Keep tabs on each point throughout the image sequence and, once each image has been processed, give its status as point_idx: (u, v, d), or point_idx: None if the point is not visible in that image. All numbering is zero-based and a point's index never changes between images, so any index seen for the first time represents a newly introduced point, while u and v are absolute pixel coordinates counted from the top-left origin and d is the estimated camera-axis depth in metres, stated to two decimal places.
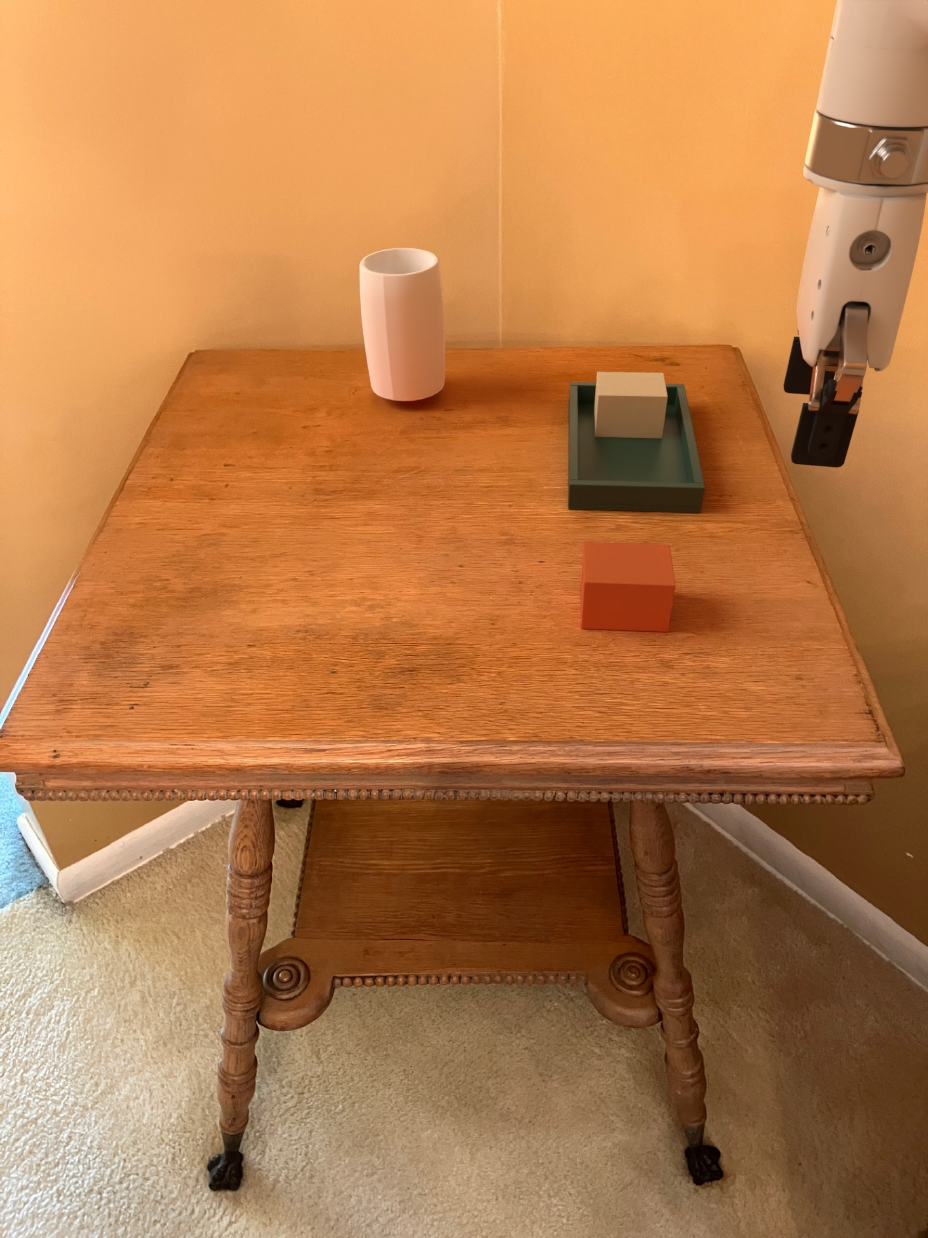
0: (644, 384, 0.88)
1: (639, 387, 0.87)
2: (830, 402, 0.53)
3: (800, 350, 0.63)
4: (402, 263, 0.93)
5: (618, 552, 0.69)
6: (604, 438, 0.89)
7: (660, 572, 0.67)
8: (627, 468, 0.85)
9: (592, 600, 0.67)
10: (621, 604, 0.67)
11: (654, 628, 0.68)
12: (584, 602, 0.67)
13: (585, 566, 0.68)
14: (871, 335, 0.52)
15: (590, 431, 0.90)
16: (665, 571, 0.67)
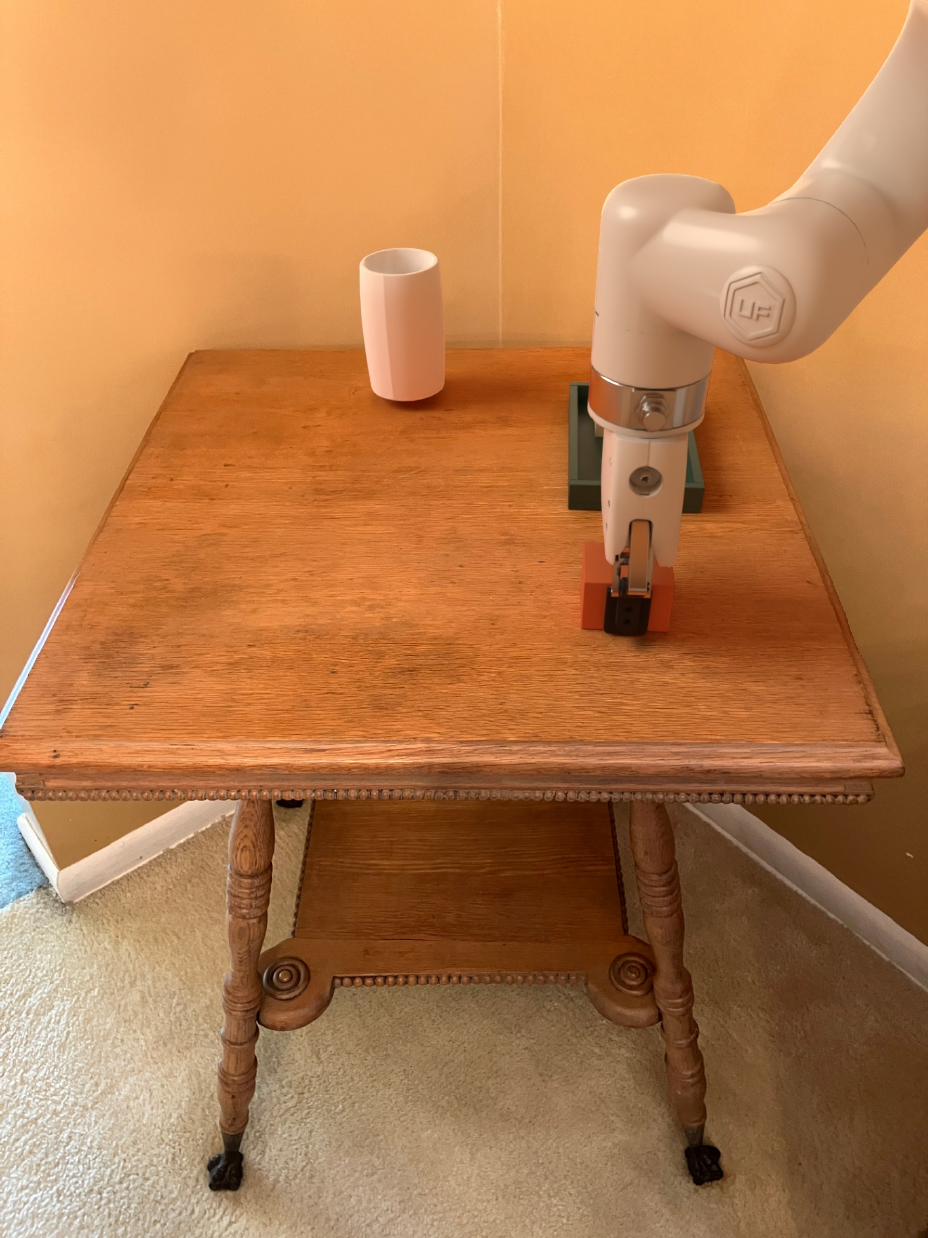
0: None
1: None
2: (625, 595, 0.63)
3: None
4: (402, 263, 0.93)
5: None
6: None
7: (660, 572, 0.67)
8: None
9: (592, 600, 0.67)
10: None
11: (654, 628, 0.68)
12: (584, 602, 0.67)
13: (585, 566, 0.68)
14: (656, 544, 0.60)
15: (590, 431, 0.90)
16: (665, 571, 0.67)
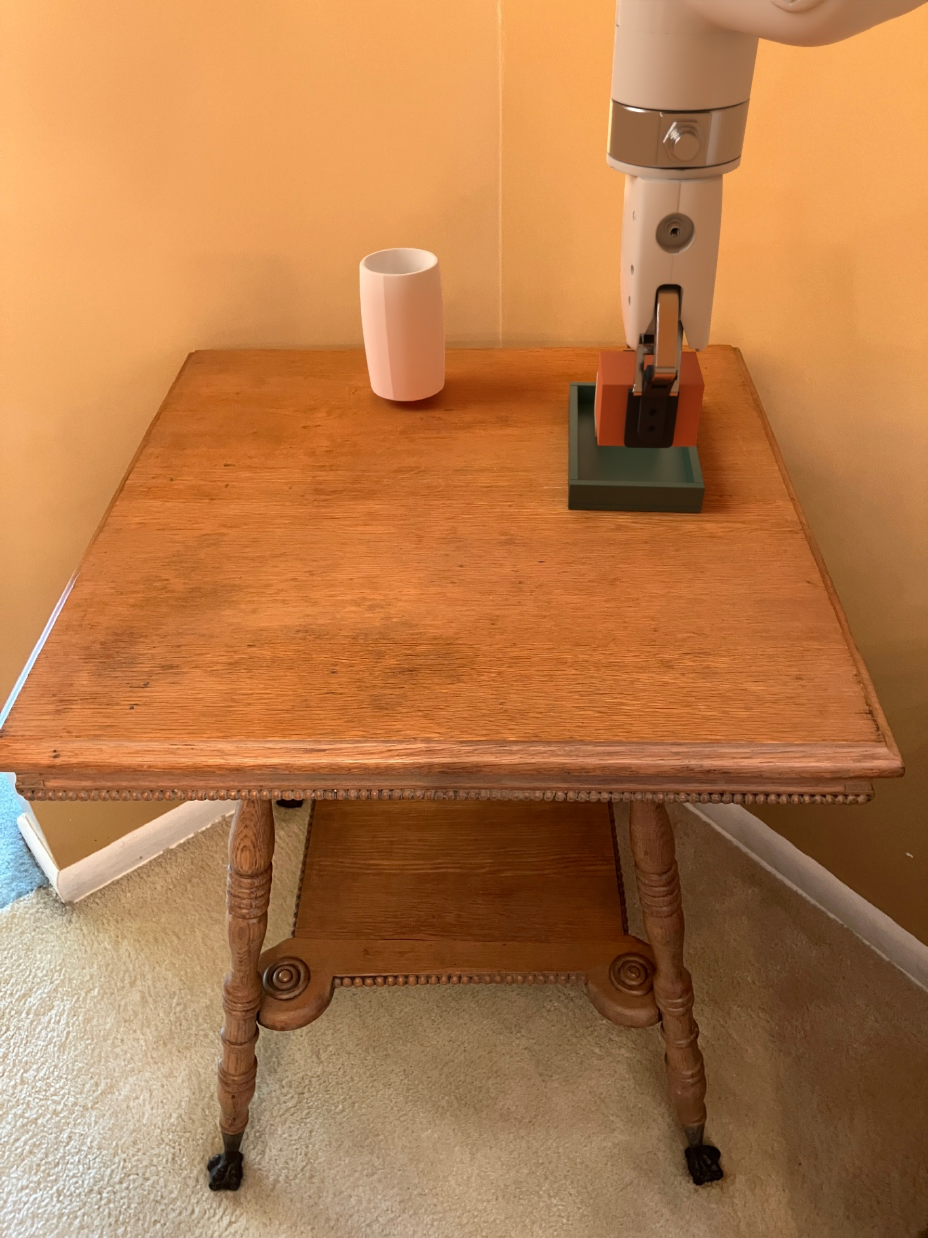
0: None
1: None
2: (650, 386, 0.56)
3: None
4: (402, 263, 0.93)
5: None
6: None
7: (687, 374, 0.59)
8: (627, 468, 0.85)
9: (611, 407, 0.60)
10: None
11: (680, 442, 0.61)
12: (602, 410, 0.60)
13: (602, 371, 0.60)
14: (687, 316, 0.53)
15: (590, 431, 0.90)
16: (692, 373, 0.59)
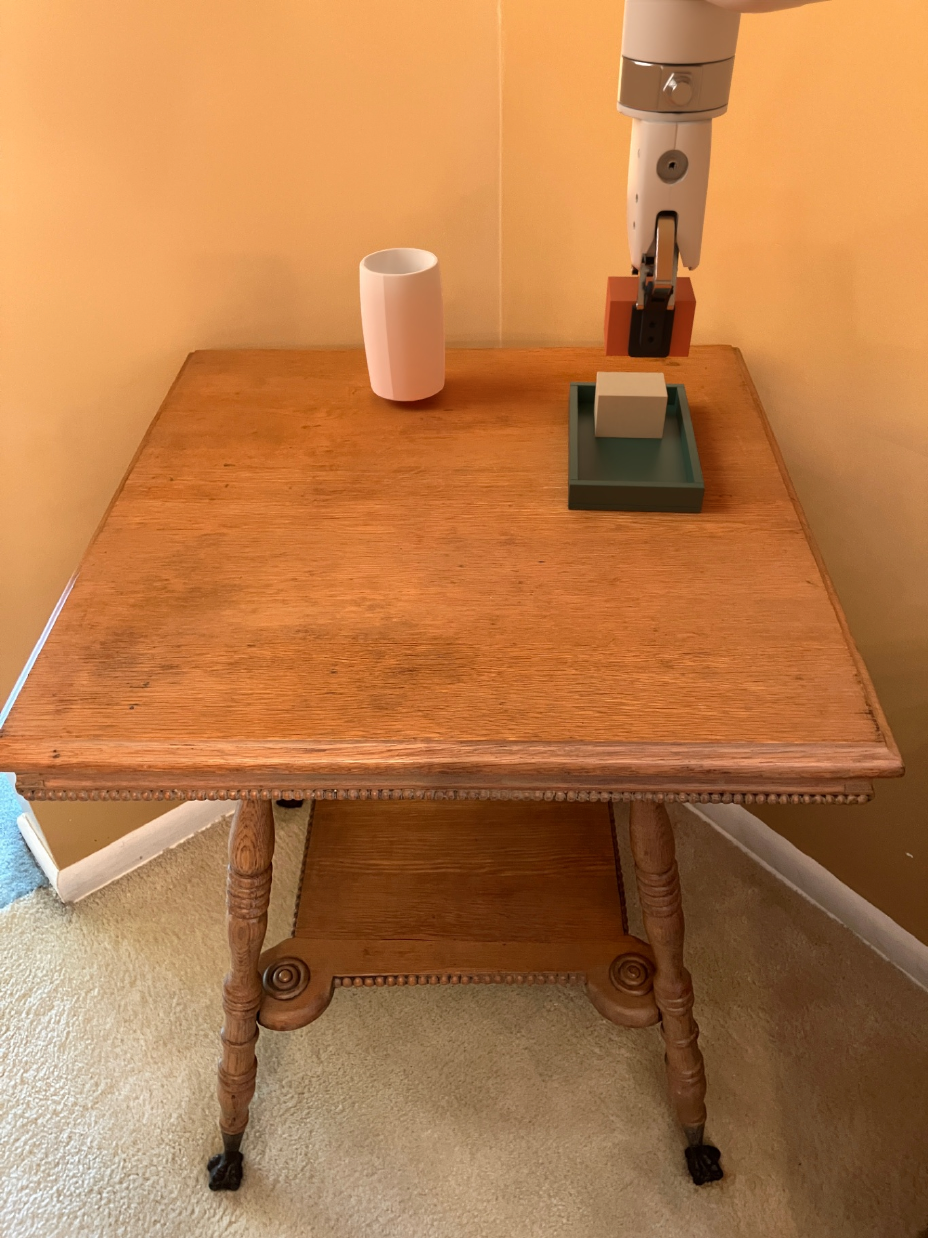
0: (644, 384, 0.88)
1: (639, 387, 0.87)
2: (650, 299, 0.67)
3: None
4: (402, 263, 0.93)
5: None
6: (604, 438, 0.89)
7: (682, 293, 0.70)
8: (627, 468, 0.85)
9: (617, 321, 0.71)
10: None
11: (675, 353, 0.72)
12: (609, 324, 0.71)
13: (610, 290, 0.71)
14: (681, 238, 0.64)
15: (590, 431, 0.90)
16: (686, 293, 0.70)
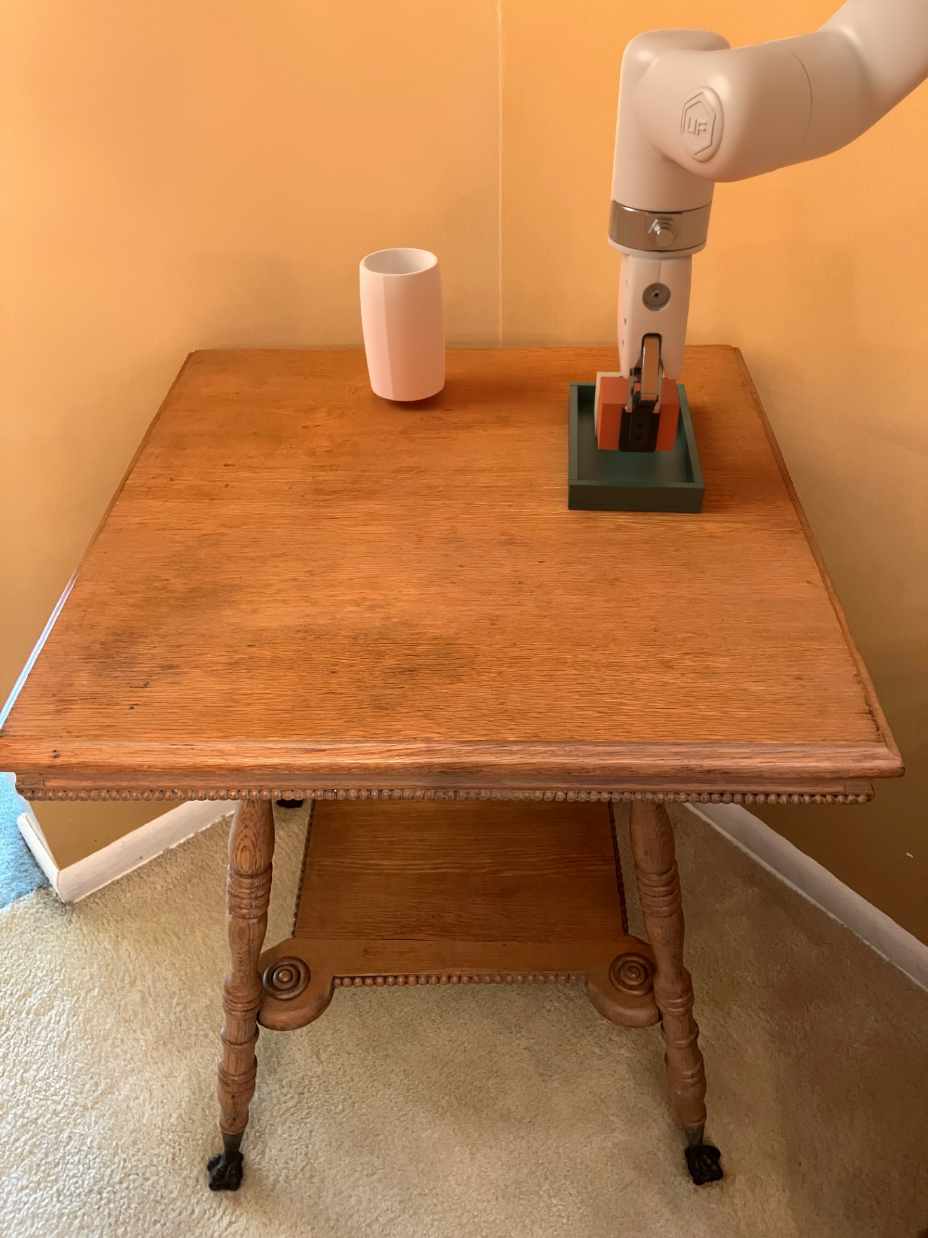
0: None
1: None
2: (638, 406, 0.74)
3: None
4: (402, 263, 0.93)
5: None
6: None
7: (667, 396, 0.78)
8: (627, 468, 0.85)
9: (608, 420, 0.78)
10: None
11: (661, 447, 0.80)
12: (601, 423, 0.79)
13: (602, 392, 0.79)
14: (665, 356, 0.71)
15: (590, 431, 0.90)
16: (671, 395, 0.78)
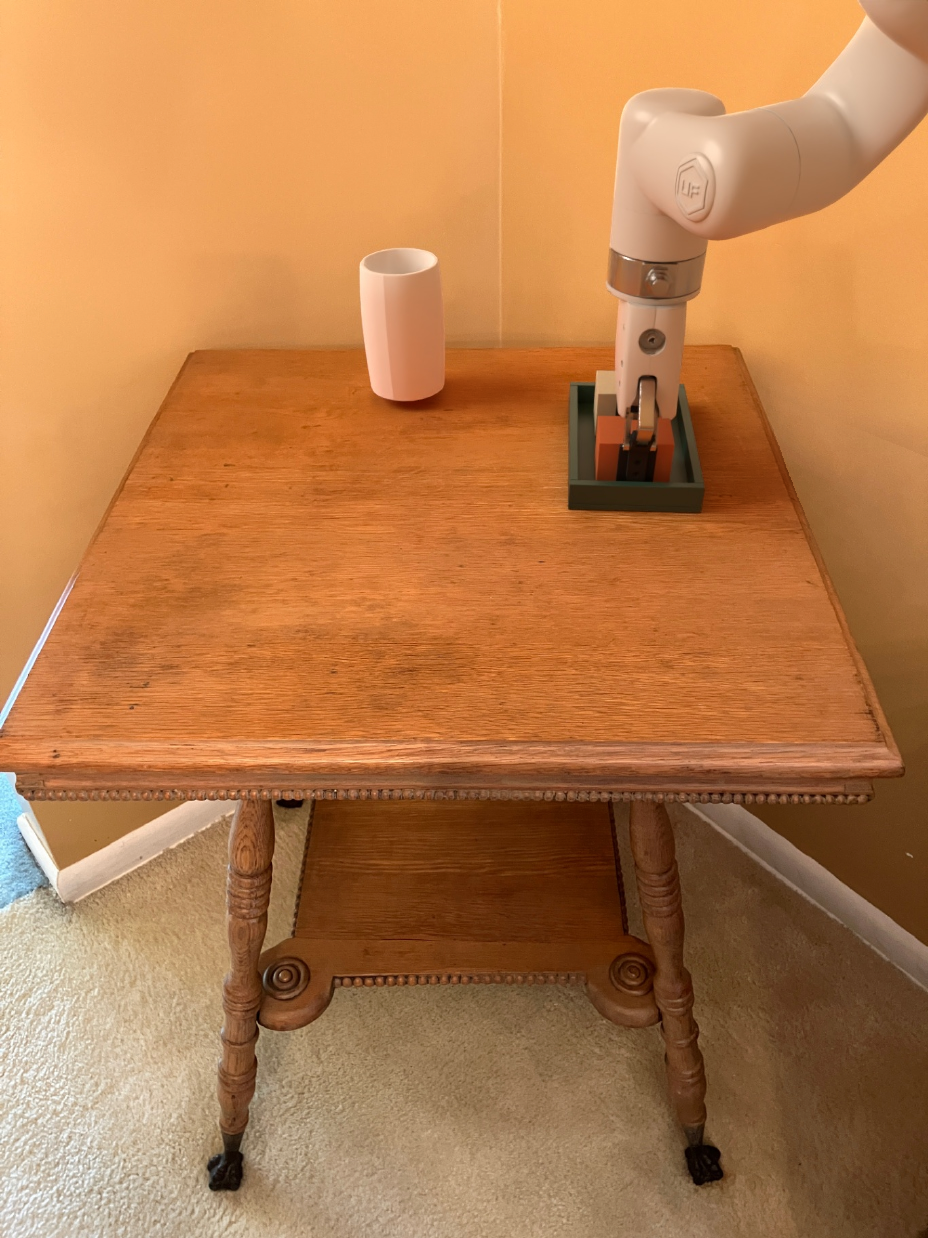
0: None
1: None
2: (635, 445, 0.76)
3: None
4: (402, 263, 0.93)
5: None
6: None
7: (662, 436, 0.80)
8: None
9: (605, 459, 0.81)
10: None
11: None
12: (599, 461, 0.81)
13: (599, 432, 0.81)
14: (660, 397, 0.74)
15: (590, 431, 0.90)
16: (666, 435, 0.80)
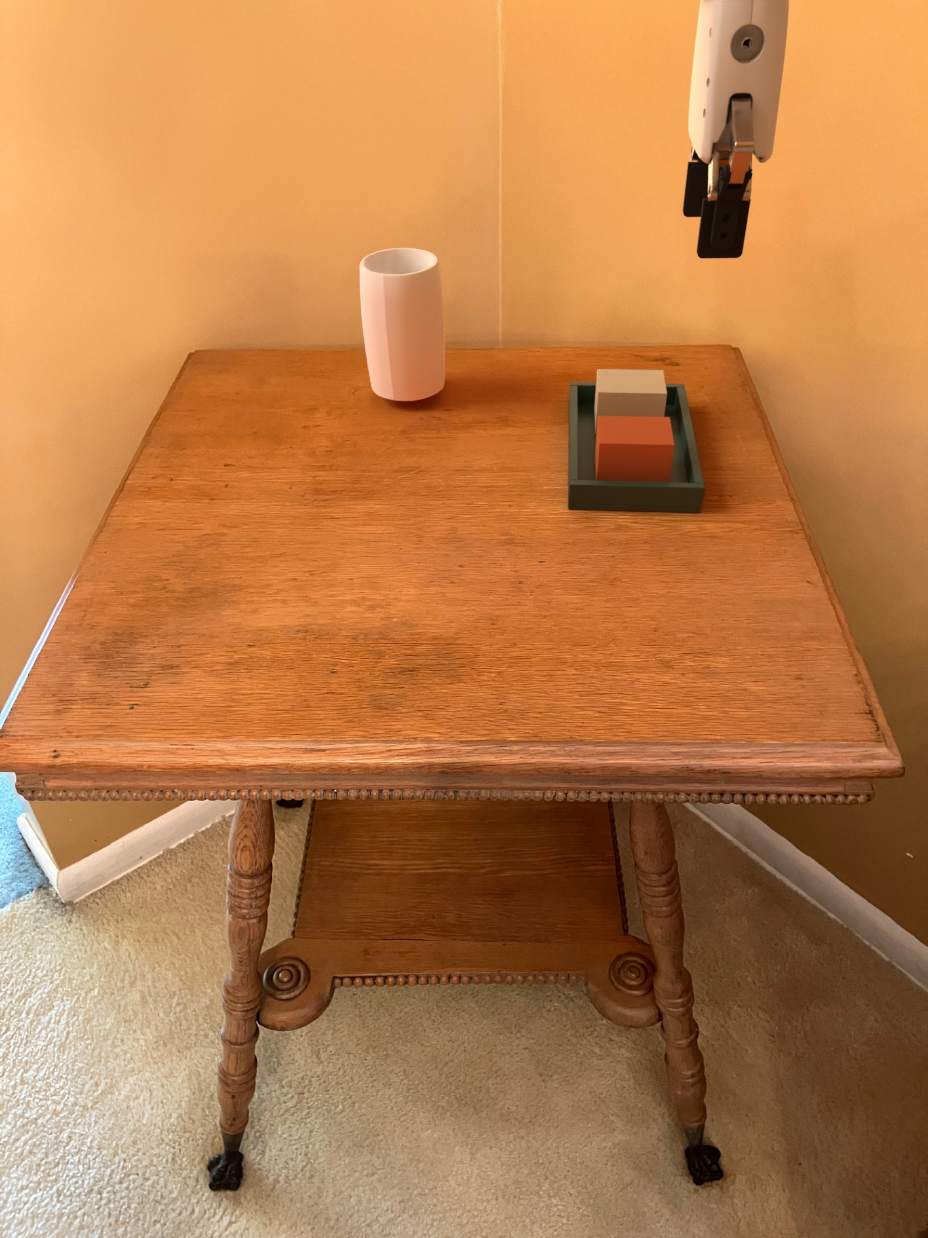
0: (644, 381, 0.88)
1: (639, 384, 0.88)
2: (726, 186, 0.61)
3: (694, 173, 0.72)
4: (402, 263, 0.93)
5: (626, 422, 0.82)
6: None
7: (662, 436, 0.80)
8: None
9: (605, 459, 0.81)
10: (629, 463, 0.81)
11: None
12: (599, 461, 0.81)
13: (599, 432, 0.81)
14: (755, 124, 0.61)
15: (590, 431, 0.90)
16: (666, 435, 0.80)
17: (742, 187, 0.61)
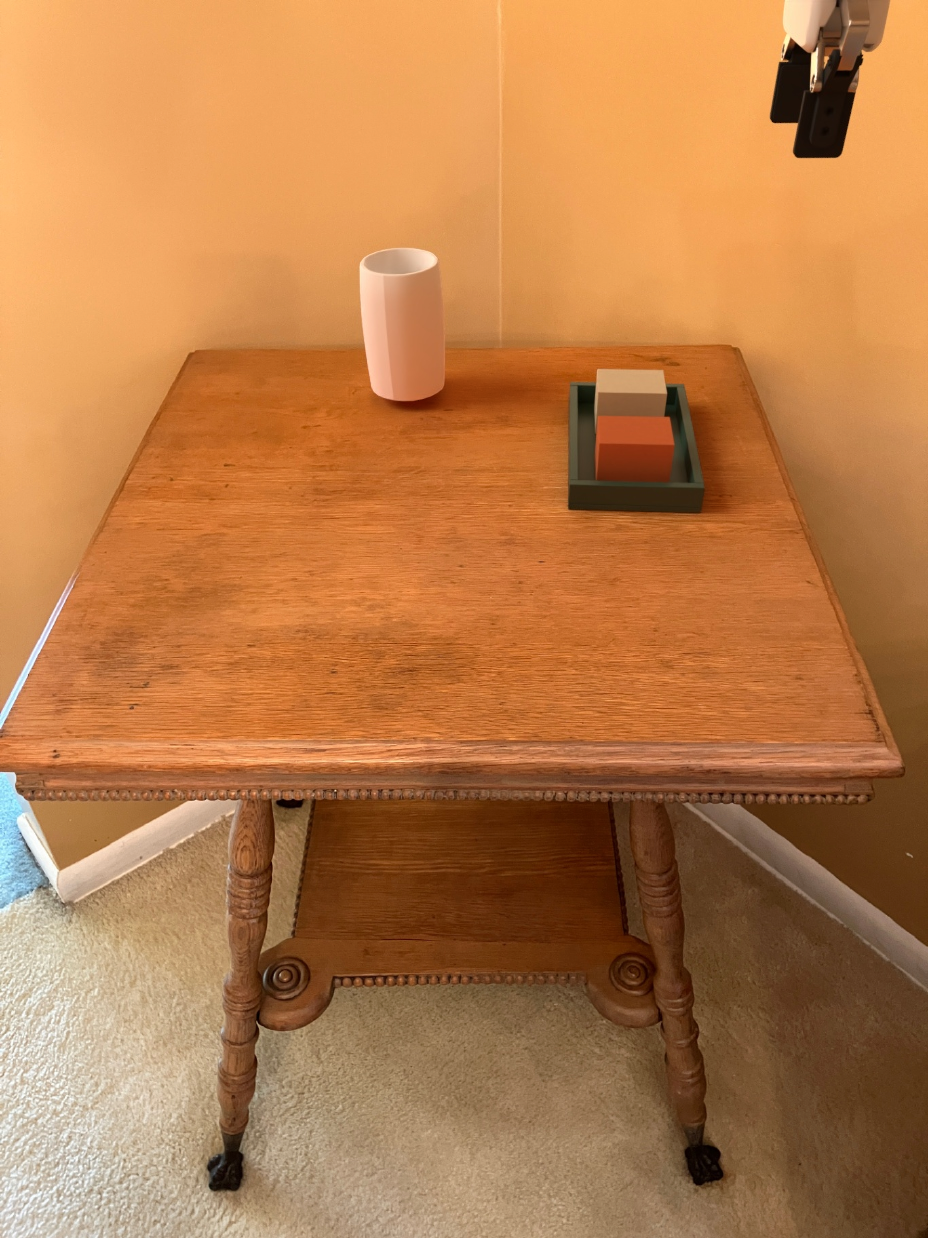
0: (644, 381, 0.88)
1: (639, 384, 0.88)
2: (834, 73, 0.57)
3: (786, 73, 0.68)
4: (402, 263, 0.93)
5: (626, 422, 0.82)
6: None
7: (662, 436, 0.80)
8: None
9: (605, 459, 0.81)
10: (629, 463, 0.81)
11: None
12: (599, 461, 0.81)
13: (599, 432, 0.81)
14: None
15: (590, 431, 0.90)
16: (666, 435, 0.80)
17: (851, 74, 0.58)
